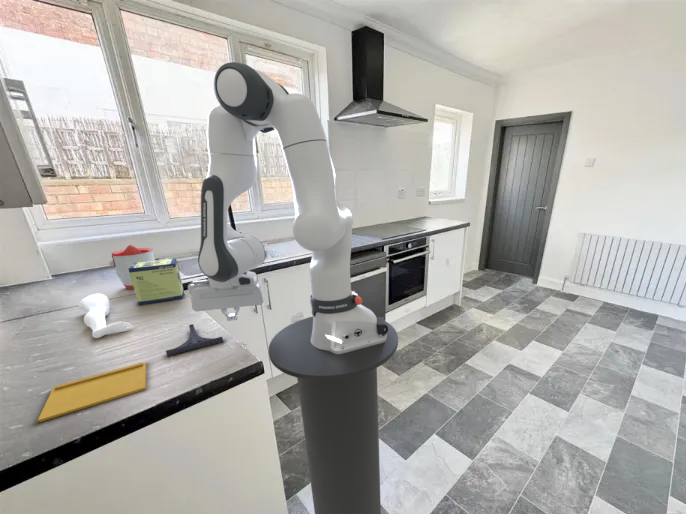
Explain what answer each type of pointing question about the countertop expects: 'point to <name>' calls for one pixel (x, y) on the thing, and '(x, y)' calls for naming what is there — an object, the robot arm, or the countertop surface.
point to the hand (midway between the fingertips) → (232, 319)
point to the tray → (94, 390)
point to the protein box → (156, 281)
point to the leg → (100, 316)
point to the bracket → (194, 343)
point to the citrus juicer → (129, 262)
